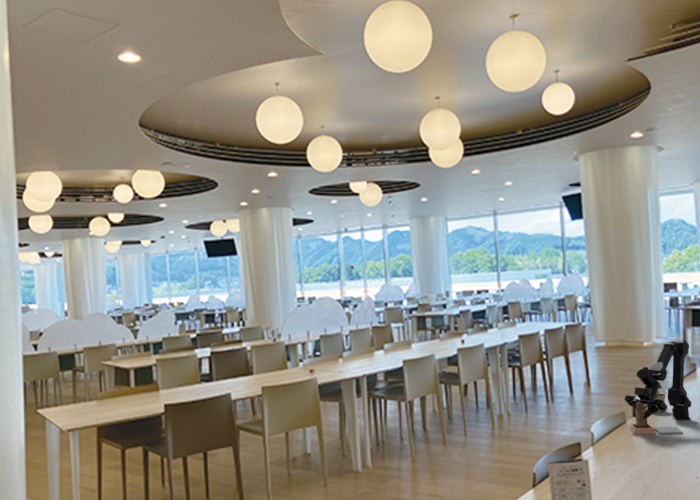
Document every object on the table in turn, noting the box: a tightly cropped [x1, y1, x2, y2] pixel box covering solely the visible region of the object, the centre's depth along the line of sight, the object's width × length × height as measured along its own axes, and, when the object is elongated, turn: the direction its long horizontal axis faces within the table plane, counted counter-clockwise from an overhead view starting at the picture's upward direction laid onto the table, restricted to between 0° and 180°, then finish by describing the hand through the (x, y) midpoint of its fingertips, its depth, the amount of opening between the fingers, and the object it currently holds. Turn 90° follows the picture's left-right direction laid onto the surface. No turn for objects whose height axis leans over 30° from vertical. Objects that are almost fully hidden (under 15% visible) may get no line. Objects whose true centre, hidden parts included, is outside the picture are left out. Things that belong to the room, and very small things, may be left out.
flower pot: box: [655, 392, 667, 413], centre depth 322 cm, size 9×9×9 cm
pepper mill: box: [635, 402, 649, 428], centre depth 284 cm, size 5×5×14 cm
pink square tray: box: [629, 423, 657, 435], centre depth 284 cm, size 9×9×2 cm
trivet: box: [653, 426, 684, 435], centre depth 281 cm, size 10×10×1 cm
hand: (639, 417), depth 283 cm, fingers closed on pepper mill, 5 cm apart
